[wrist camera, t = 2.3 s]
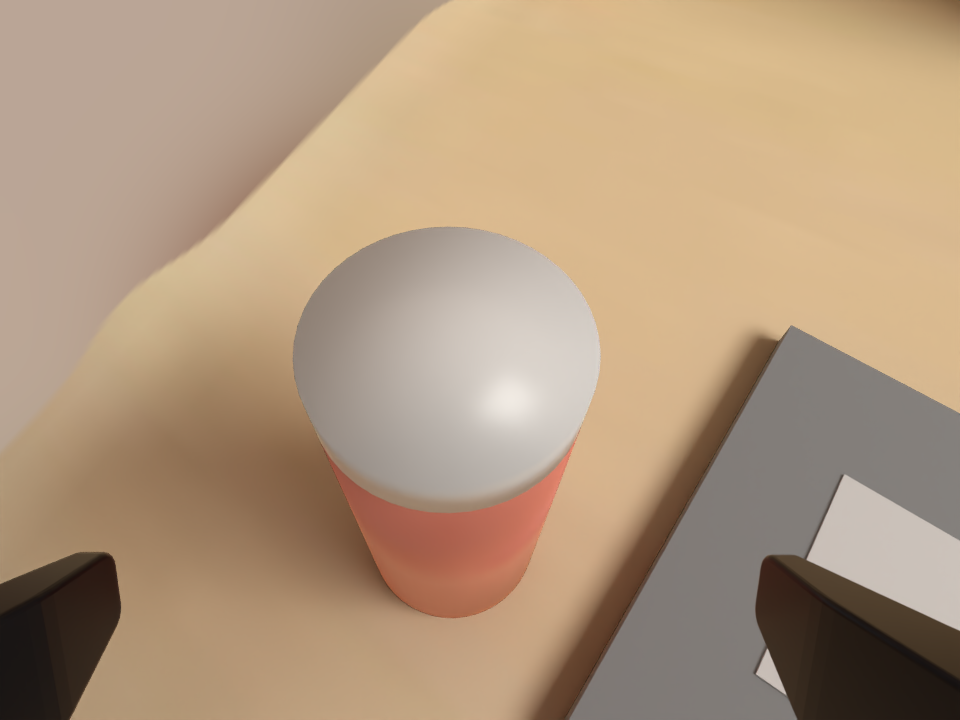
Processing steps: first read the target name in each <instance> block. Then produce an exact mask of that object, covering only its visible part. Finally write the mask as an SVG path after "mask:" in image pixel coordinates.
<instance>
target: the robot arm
mask: <svg viewBox="0 0 960 720" xmlns="http://www.w3.org/2000/svg"><path fill="white" fill-rule="evenodd" d="M120 613H121V601H120V594H119V587H118V579H117V572H116V565H115V561H114V559H113V557H112V556H111V555H110V554H109V553H105V552H80V553H75V554H73V555H70V556H68V557H65V558H63V559H60V560H58V561H56V562H53V563H51V564H48V565H46V566H43V567H41V568H38V569H36V570H33V571H31V572H29V573H26V574H24V575H21V576H19V577H16V578H14V579H11V580H9V581H6V582H4V583H2V584H0V720H70V718H71V716H72V714H73V712H74V710H75V708H76V706H77V704H78V702H79V700H80V698H81V696H82V694H83V692H84V690H85V688H86V686H87V684H88V682H89V680H90V678H91V676H92V674H93V672H94V670H95V668H96V666H97V664H98V662H99V660H100V658H101V656H102V654H103V652H104V650H105V648H106V646H107V645H108V643H109V641H110V639H111V637H112V635H113V633H114V631H115V629H116V627H117V624H118V621H119V618H120ZM755 615H756V620H757V624H758V627H759V629H760V632H761V634H762V637H763V639H764V641H765V644H766V646H767V649H768V651H769V653H770V656H771V658H772V661H773V663H774V666H775V668H776V670H777V673H778V675H779V678H780V680H781V682H782V685H783V687H784V690H785V692H786V695H787V697H788V699H789V702H790V704H791V707H792V709H793V711H794V714H795V716H796V718H797V720H960V631H959V630H957V629H955V628H953V627H951V626H948V625H946V624H944V623H942V622H940V621H938V620H935V619H933V618H931V617H929V616H927V615H925V614H922V613H920V612H918V611H916V610H914V609H912V608H909V607H907V606H905V605H903V604H901V603H899V602H897V601H894V600H892V599H890V598H888V597H886V596H884V595H881V594H879V593H877V592H875V591H873V590H871V589H868V588H866V587H864V586H862V585H860V584H858V583H855V582H853V581H851V580H849V579H847V578H845V577H842V576H840V575H838V574H836V573H834V572H832V571H829V570H827V569H825V568H823V567H821V566H819V565H816V564H814V563H812V562H810V561H808V560H806V559H803V558H801V557H799V556H797V555H767V556H766V557H765V558H764V559H763V561H762V563H761V568H760V575H759V582H758V589H757V596H756V603H755Z"/></svg>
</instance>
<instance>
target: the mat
mask: <svg viewBox="0 0 960 720" xmlns="http://www.w3.org/2000/svg"><path fill="white" fill-rule="evenodd" d="M767 555H797V556H799V557H801V558H803V559H806V560H808V561H810V562H812V563H814V564H816V565H819V566H821V567H823V568H825V569H827V570H829V571H832V572H834V573H836V574H838V575H840V576H842V577H845V578H847V579H849V580H851V581H853V582H855V583H858V584H860V585H862V586H864V587H866V588H868V589H871V590H873V591H875V592H877V593H879V594H881V595H884V596H886V597H888V598H890V599H892V600H894V601H897V602H899V603H901V604H903V605H905V606H907V607H909V608H912V609H914V610H916V611H918V612H920V613H922V614H925V615H927V616H929V617H931V618H933V619H935V620H938V621H940V622H942V623H944V624H946V625H948V626H951V627H953V628H955V629H957V630H959V631H960V413H958V412H956V411H954V410H952V409H950V408H948V407H946V406H945V405H943V404H941V403H939V402H937V401H935V400H933V399H931V398H929V397H927V396H925V395H924V394H922V393H920V392H918V391H916V390H914V389H912V388H910V387H908V386H906V385H904V384H903V383H901V382H899V381H897V380H895V379H893V378H891V377H889V376H887V375H885V374H883V373H882V372H880V371H878V370H876V369H874V368H872V367H870V366H868V365H866V364H864V363H862V362H861V361H859V360H857V359H855V358H853V357H851V356H849V355H847V354H845V353H843V352H841V351H840V350H838V349H836V348H834V347H832V346H830V345H828V344H826V343H824V342H822V341H820V340H819V339H817V338H815V337H813V336H811V335H809V334H807V333H805V332H803V331H801V330H799V329H798V328H796V327H794V326H792V325H791V326H790V328H789V329H788V330H787V331H786V333H785V334H784V335H783V337H782V338H781V339H780V340H779V342H778V344H777V346H776V347H775V349H774V351H773V353H772V354H771V356H770V358H769V360H768V362H767V363H766V365H765V367H764V369H763V370H762V372H761V374H760V376H759V377H758V379H757V381H756V383H755V384H754V386H753V388H752V390H751V391H750V393H749V395H748V397H747V399H746V400H745V402H744V404H743V406H742V407H741V409H740V411H739V413H738V414H737V416H736V418H735V420H734V421H733V423H732V425H731V427H730V428H729V430H728V432H727V434H726V436H725V437H724V439H723V441H722V443H721V444H720V446H719V448H718V450H717V451H716V453H715V455H714V457H713V458H712V460H711V462H710V464H709V465H708V467H707V469H706V471H705V473H704V474H703V476H702V478H701V480H700V481H699V483H698V485H697V487H696V488H695V490H694V492H693V494H692V495H691V497H690V499H689V501H688V503H687V504H686V506H685V508H684V510H683V511H682V513H681V515H680V517H679V518H678V520H677V522H676V524H675V525H674V527H673V529H672V531H671V532H670V534H669V536H668V538H667V540H666V541H665V543H664V545H663V547H662V548H661V550H660V552H659V554H658V555H657V557H656V559H655V561H654V562H653V564H652V566H651V568H650V569H649V571H648V573H647V575H646V577H645V578H644V580H643V582H642V584H641V585H640V587H639V589H638V591H637V592H636V594H635V596H634V598H633V599H632V601H631V603H630V605H629V607H628V608H627V610H626V612H625V614H624V615H623V617H622V619H621V621H620V622H619V624H618V626H617V628H616V629H615V631H614V633H613V635H612V636H611V638H610V640H609V642H608V644H607V645H606V647H605V649H604V651H603V652H602V654H601V656H600V658H599V659H598V661H597V663H596V665H595V666H594V668H593V670H592V672H591V673H590V675H589V677H588V679H587V681H586V682H585V684H584V686H583V688H582V689H581V691H580V693H579V695H578V696H577V698H576V700H575V702H574V703H573V705H572V707H571V709H570V710H569V712H568V714H567V716H566V718H565V719H564V720H797V718H796V716H795V714H794V711H793V709H792V707H791V704H790V702H789V699H788V697H787V695H786V692H785V690H784V687H783V685H782V682H781V680H780V678H779V675H778V673H777V670H776V668H775V666H774V663H773V661H772V658H771V656H770V653H769V651H768V649H767V646H766V644H765V641H764V639H763V637H762V634H761V632H760V629H759V627H758V624H757V620H756V615H755V603H756V596H757V589H758V582H759V575H760V568H761V563H762V561H763V559H764V558H765V557H766V556H767Z"/></svg>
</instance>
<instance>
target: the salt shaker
mask: <svg viewBox="0 0 960 720" xmlns="http://www.w3.org/2000/svg"><path fill="white" fill-rule="evenodd" d="M600 357H601V356H600V342H599V336H598V331H597V327H596V323H595V320H594V318H593V315H592V313H591V310H590V308H589V306H588V304H587V302H586V300H585V299H584V297H583V295H582V293H581V292H580V291H579V289H578V288H577V287H576V285H575V284H574V283H573V281H572V280H571V279H570V278H569V277H568V276H567V275H566V274H565V273H564V272H563V271H562V270H561V269H560V268H559V267H558V266H557V265H556V264H554V263H553V262H552V261H551V260H549V259H548V258H547V257H545V256H544V255H542V254H541V253H539V252H538V251H536V250H534V249H533V248H531V247H529V246H527V245H525V244H523V243H521V242H519V241H517V240H514V239H511V238H508V237H506V236H503V235H500V234H496V233H492V232H488V231H484V230H478V229H471V228H463V227H434V228H425V229H418V230H412V231H408V232H404V233H400V234H396V235H393V236H390V237H387V238H385V239H382V240H379V241H377V242H375V243H373V244H371V245H369V246H367V247H365V248H363V249H361V250H360V251H358V252H356V253H355V254H353V255H352V256H350V257H349V258H347V259H346V260H345V261H343V262H342V263H341V264H340V265H338V266H337V267H336V268H335V269H334V270H333V271H332V272H331V273H330V274H329V275H328V276H327V277H326V278H325V279H324V280H323V281H322V282H321V284H320V285H319V286H318V288H317V289H316V290H315V292H314V293H313V294H312V296H311V298H310V300H309V301H308V303H307V305H306V307H305V308H304V310H303V313H302V316H301V318H300V321H299V323H298V326H297V331H296V335H295V340H294V349H293V367H294V377H295V381H296V385H297V389H298V393H299V396H300V398H301V400H302V403H303V405H304V407H305V410H306V412H307V414H308V416H309V418H310V421H311V423H312V425H313V427H314V429H315V432H316V434H317V436H318V438H319V440H320V442H321V445H322V447H323V449H324V451H325V453H326V456H327V458H328V460H329V462H330V464H331V466H332V469H333V471H334V473H335V475H336V477H337V480H338V482H339V484H340V486H341V488H342V491H343V493H344V495H345V497H346V499H347V501H348V504H349V506H350V508H351V510H352V512H353V515H354V517H355V519H356V521H357V523H358V525H359V528H360V530H361V532H362V534H363V536H364V539H365V541H366V543H367V545H368V547H369V549H370V552H371V554H372V556H373V558H374V560H375V563H376V565H377V567H378V569H379V571H380V573H381V576H382V577H383V579H384V581H385V582H386V584H387V585H388V586H389V588H390V589H391V590H392V591H393V593H394V594H395V595H397V596H398V597H399V598H400V599H401V600H402V601H403V602H405V603H406V604H408V605H409V606H411V607H412V608H414V609H416V610H418V611H420V612H423V613H426V614H429V615H432V616H438V617H444V618H458V617H467V616H471V615H475V614H478V613H481V612H483V611H486V610H488V609H490V608H491V607H493V606H495V605H497V604H498V603H499V602H501V601H502V600H503V599H505V598H506V597H507V596H508V595H509V594H510V593H511V592H512V591H513V590H514V588H515V587H516V586H517V584H518V583H519V582H520V580H521V579H522V577H523V575H524V573H525V571H526V569H527V566H528V564H529V562H530V559H531V556H532V554H533V551H534V549H535V546H536V543H537V541H538V538H539V535H540V533H541V530H542V528H543V525H544V522H545V520H546V517H547V515H548V512H549V509H550V507H551V504H552V502H553V499H554V496H555V494H556V491H557V488H558V486H559V483H560V481H561V478H562V475H563V473H564V470H565V468H566V465H567V462H568V460H569V457H570V455H571V452H572V449H573V447H574V444H575V441H576V439H577V436H578V434H579V431H580V428H581V426H582V423H583V421H584V418H585V415H586V413H587V410H588V408H589V405H590V402H591V400H592V397H593V394H594V392H595V388H596V384H597V380H598V376H599V369H600Z"/></svg>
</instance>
